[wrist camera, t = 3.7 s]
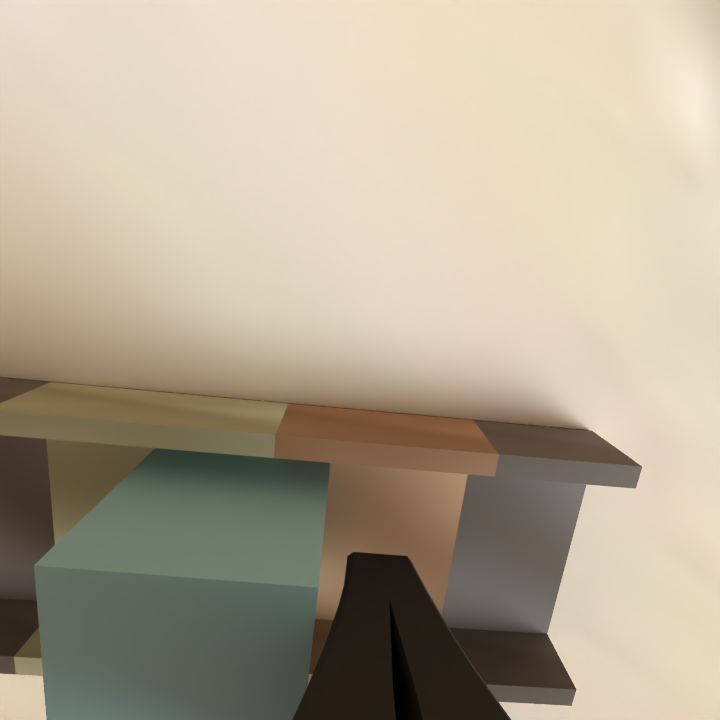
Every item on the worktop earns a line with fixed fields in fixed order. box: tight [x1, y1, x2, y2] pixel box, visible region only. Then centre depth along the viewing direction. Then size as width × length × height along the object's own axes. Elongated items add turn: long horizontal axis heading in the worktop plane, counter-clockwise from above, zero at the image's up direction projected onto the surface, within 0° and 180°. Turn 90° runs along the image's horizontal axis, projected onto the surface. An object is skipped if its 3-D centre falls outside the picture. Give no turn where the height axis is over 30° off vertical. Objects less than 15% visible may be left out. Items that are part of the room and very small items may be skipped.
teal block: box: [34, 448, 330, 720], centre depth 8 cm, size 4×4×4 cm
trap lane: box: [0, 377, 642, 706], centre depth 10 cm, size 6×16×2 cm, turn 84°
